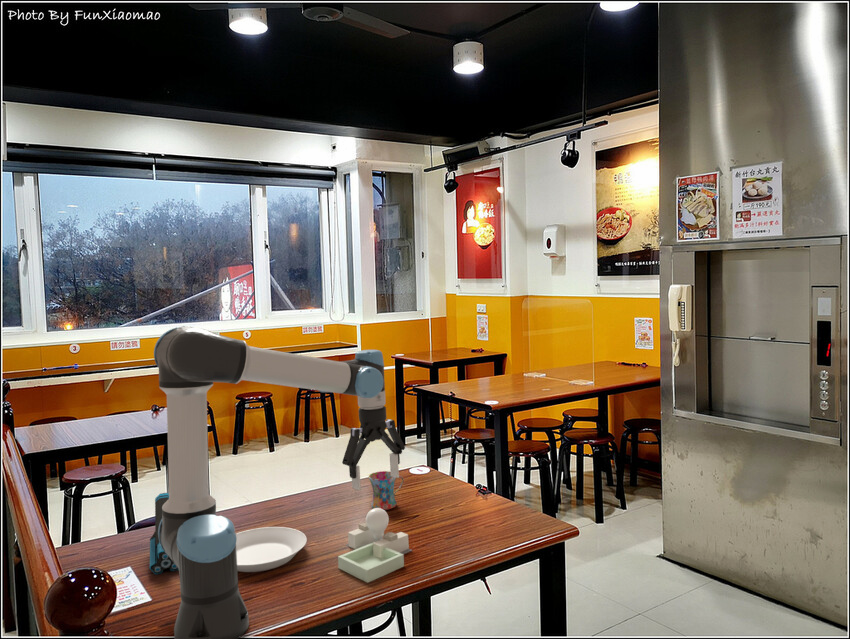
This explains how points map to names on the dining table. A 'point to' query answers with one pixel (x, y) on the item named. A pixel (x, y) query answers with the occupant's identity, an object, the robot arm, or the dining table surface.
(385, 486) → the mug
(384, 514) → the lightbulb
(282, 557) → the bowl
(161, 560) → the gun
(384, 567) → the tray
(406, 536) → the holder
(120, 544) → the dining table surface
